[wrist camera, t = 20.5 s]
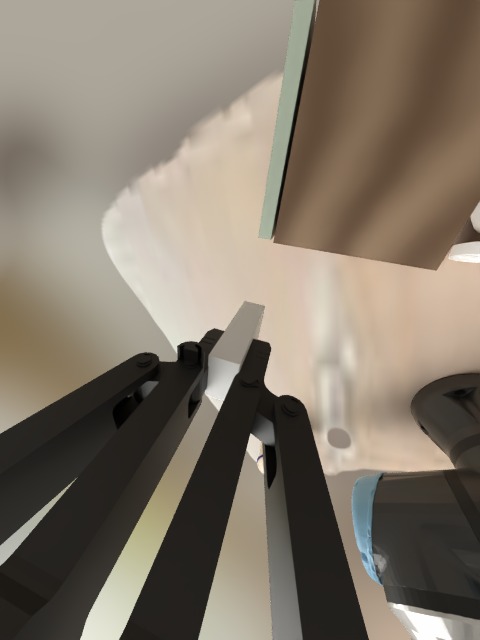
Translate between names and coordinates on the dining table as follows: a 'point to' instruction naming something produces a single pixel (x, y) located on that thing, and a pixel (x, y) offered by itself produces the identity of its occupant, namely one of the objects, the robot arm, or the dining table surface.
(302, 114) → the box
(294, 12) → the pale green angular block
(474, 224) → the spread jar
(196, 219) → the dining table surface
